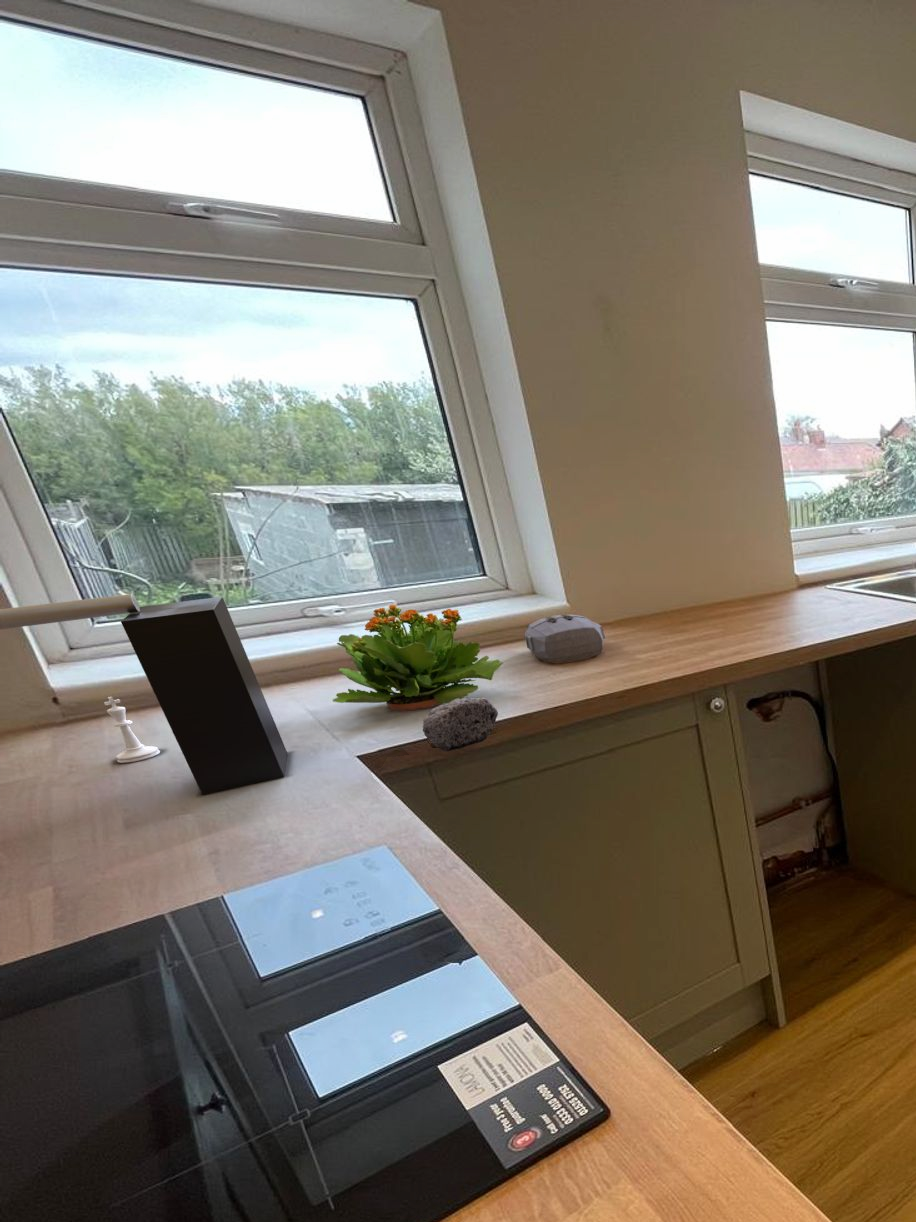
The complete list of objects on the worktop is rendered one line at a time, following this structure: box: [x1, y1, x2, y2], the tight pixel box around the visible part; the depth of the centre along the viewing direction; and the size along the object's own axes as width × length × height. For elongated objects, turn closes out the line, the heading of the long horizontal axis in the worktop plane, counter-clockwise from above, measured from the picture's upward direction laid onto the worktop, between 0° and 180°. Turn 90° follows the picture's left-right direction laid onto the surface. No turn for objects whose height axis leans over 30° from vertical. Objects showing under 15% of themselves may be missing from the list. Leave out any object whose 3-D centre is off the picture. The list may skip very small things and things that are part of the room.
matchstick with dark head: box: [0, 593, 140, 630], centre depth 103 cm, size 18×3×3 cm, turn 128°
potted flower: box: [332, 604, 504, 712], centre depth 145 cm, size 25×24×18 cm
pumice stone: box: [422, 697, 499, 752], centre depth 128 cm, size 10×8×10 cm
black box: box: [120, 596, 288, 796], centre depth 115 cm, size 9×12×25 cm
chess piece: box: [103, 696, 161, 764], centre depth 127 cm, size 5×5×10 cm
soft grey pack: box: [524, 613, 606, 664], centre depth 176 cm, size 15×8×20 cm
